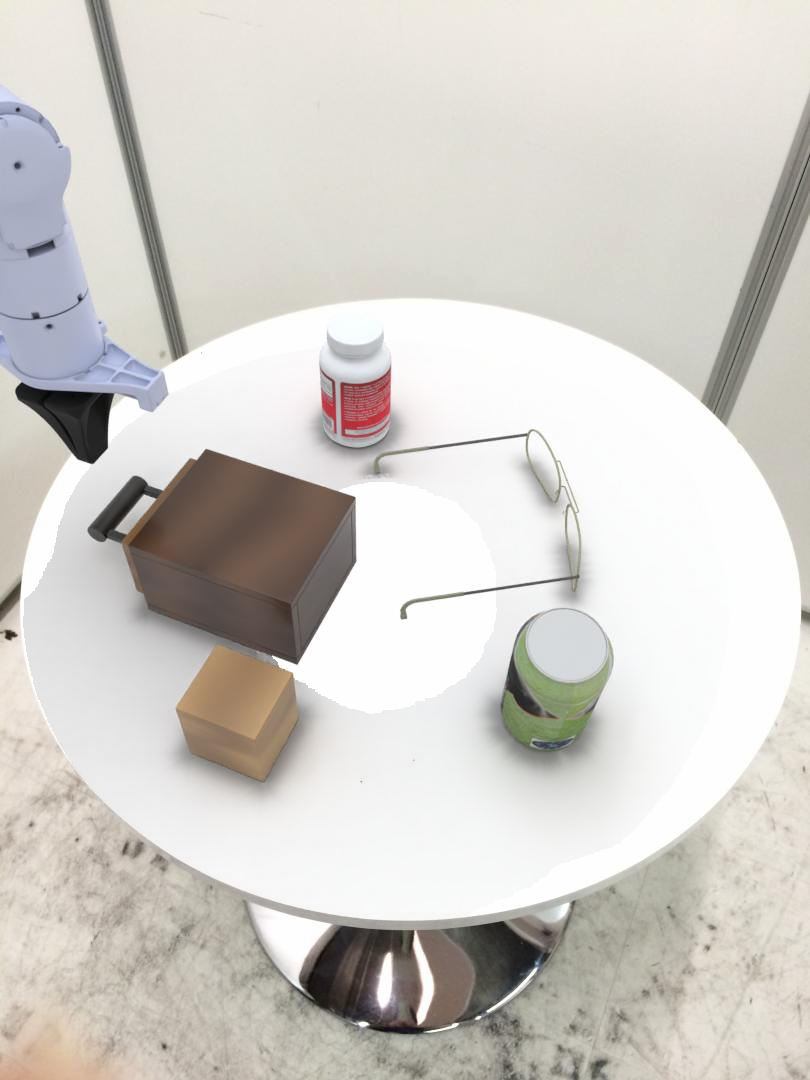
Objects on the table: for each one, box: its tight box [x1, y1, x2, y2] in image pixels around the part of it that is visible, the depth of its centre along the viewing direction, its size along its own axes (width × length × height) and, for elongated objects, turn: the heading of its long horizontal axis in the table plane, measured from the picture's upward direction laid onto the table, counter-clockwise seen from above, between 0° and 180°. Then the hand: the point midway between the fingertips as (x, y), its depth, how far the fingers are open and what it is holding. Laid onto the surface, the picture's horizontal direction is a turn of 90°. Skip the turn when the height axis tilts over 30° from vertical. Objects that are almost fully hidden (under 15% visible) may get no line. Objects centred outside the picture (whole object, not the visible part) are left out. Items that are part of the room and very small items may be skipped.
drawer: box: [86, 457, 197, 594], centre depth 66 cm, size 16×9×6 cm, turn 68°
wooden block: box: [175, 644, 299, 783], centre depth 57 cm, size 6×5×6 cm
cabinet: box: [128, 448, 357, 666], centre depth 65 cm, size 13×11×8 cm
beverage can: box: [500, 606, 615, 751], centre depth 56 cm, size 6×7×12 cm
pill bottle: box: [318, 310, 392, 448], centre depth 76 cm, size 6×6×11 cm
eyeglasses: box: [373, 428, 582, 620], centre depth 70 cm, size 16×15×5 cm
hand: (92, 453), depth 63 cm, fingers closed
